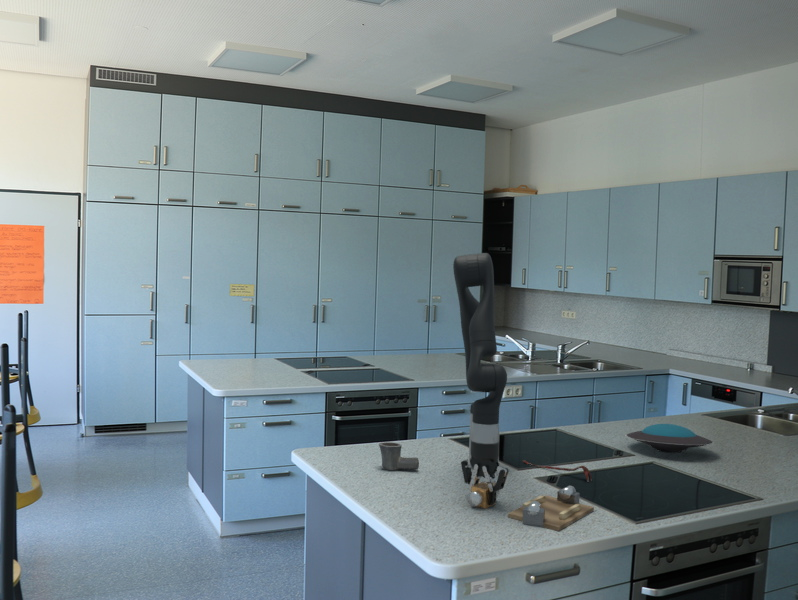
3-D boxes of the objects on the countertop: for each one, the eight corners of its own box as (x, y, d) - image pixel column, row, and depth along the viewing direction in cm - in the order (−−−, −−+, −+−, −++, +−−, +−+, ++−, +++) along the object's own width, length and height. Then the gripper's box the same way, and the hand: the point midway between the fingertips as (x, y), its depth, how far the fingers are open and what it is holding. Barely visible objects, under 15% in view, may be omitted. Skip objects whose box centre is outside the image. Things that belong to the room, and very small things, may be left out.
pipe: (416, 474, 210) (417, 448, 210) (375, 470, 213) (376, 445, 212) (419, 468, 216) (420, 443, 216) (380, 465, 219) (380, 440, 218)
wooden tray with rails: (545, 498, 189) (545, 489, 189) (593, 510, 180) (593, 501, 180) (508, 517, 174) (508, 507, 174) (558, 531, 165) (558, 520, 165)
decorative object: (718, 450, 250) (719, 422, 250) (705, 467, 226) (706, 437, 225) (635, 438, 266) (636, 412, 265) (615, 453, 241) (616, 425, 241)
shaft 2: (562, 501, 187) (562, 483, 187) (579, 505, 184) (579, 487, 184) (555, 505, 184) (555, 487, 184) (572, 509, 181) (573, 491, 181)
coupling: (486, 498, 189) (486, 480, 188) (500, 501, 186) (500, 483, 186) (465, 506, 181) (466, 488, 181) (480, 510, 178) (480, 491, 178)
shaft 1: (525, 518, 173) (525, 499, 173) (545, 521, 171) (545, 502, 171) (522, 524, 169) (523, 504, 169) (543, 526, 168) (543, 507, 167)
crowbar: (592, 483, 206) (591, 466, 207) (588, 484, 205) (586, 467, 205) (527, 474, 227) (526, 458, 227) (522, 475, 225) (521, 459, 226)
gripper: (515, 441, 181) (513, 505, 182) (470, 432, 190) (468, 493, 191) (500, 446, 175) (498, 512, 176) (454, 436, 185) (453, 499, 185)
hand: (483, 502), depth 183 cm, fingers closed on coupling, 4 cm apart
